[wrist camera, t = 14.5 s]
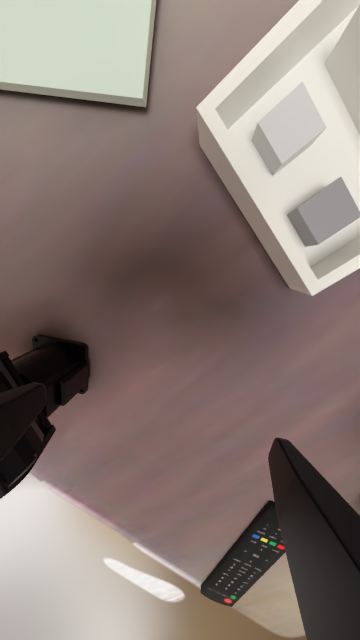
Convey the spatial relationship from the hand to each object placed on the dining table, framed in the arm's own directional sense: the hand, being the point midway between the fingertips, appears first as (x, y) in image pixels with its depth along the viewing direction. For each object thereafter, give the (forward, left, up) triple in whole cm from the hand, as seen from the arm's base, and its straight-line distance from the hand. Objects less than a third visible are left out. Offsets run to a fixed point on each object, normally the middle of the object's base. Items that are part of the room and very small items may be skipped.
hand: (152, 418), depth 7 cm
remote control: (+14, -34, -14) cm, 39 cm away
